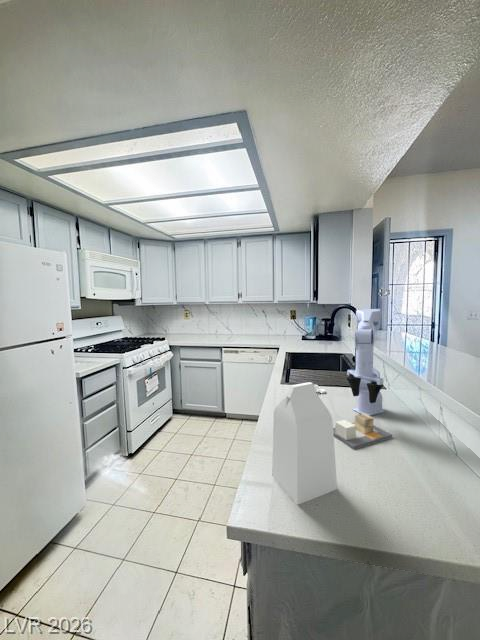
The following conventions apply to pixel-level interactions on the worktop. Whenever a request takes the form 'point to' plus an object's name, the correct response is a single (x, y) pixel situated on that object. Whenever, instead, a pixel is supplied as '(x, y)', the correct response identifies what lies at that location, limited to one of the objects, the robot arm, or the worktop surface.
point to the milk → (303, 445)
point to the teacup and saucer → (318, 390)
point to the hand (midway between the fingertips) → (364, 399)
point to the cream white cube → (345, 429)
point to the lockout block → (364, 423)
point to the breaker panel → (364, 437)
